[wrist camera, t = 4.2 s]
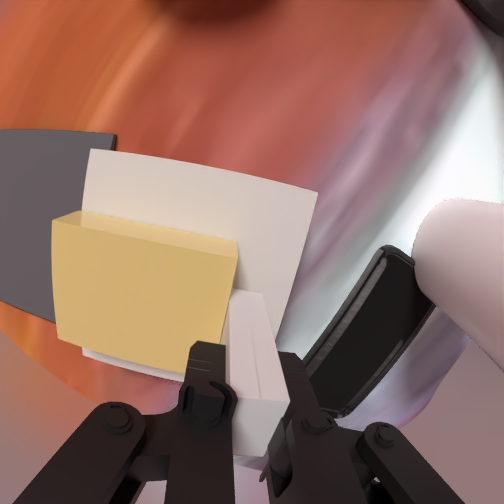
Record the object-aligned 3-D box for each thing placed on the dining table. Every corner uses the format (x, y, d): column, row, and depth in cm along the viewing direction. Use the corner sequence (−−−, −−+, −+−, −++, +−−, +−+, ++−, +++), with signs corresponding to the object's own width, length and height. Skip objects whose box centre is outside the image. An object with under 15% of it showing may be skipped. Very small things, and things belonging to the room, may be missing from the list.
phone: (273, 403, 20) (389, 241, 17) (271, 394, 21) (381, 237, 18) (344, 420, 22) (448, 287, 19) (341, 412, 23) (441, 282, 20)
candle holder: (493, 205, 18) (597, 240, 6) (463, 308, 20) (548, 376, 9) (420, 171, 17) (567, 194, 5) (385, 301, 19) (488, 406, 8)
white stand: (298, 187, 16) (318, 192, 13) (252, 355, 20) (256, 393, 16) (120, 151, 15) (90, 148, 11) (104, 324, 18) (83, 355, 14)
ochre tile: (236, 241, 13) (238, 258, 11) (214, 348, 15) (211, 378, 12) (79, 210, 12) (52, 220, 10) (78, 315, 14) (58, 338, 11)
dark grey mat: (116, 134, 15) (113, 134, 14) (99, 333, 18) (96, 336, 18) (-4, 129, 13) (-8, 129, 13) (-7, 293, 17) (-10, 295, 16)
